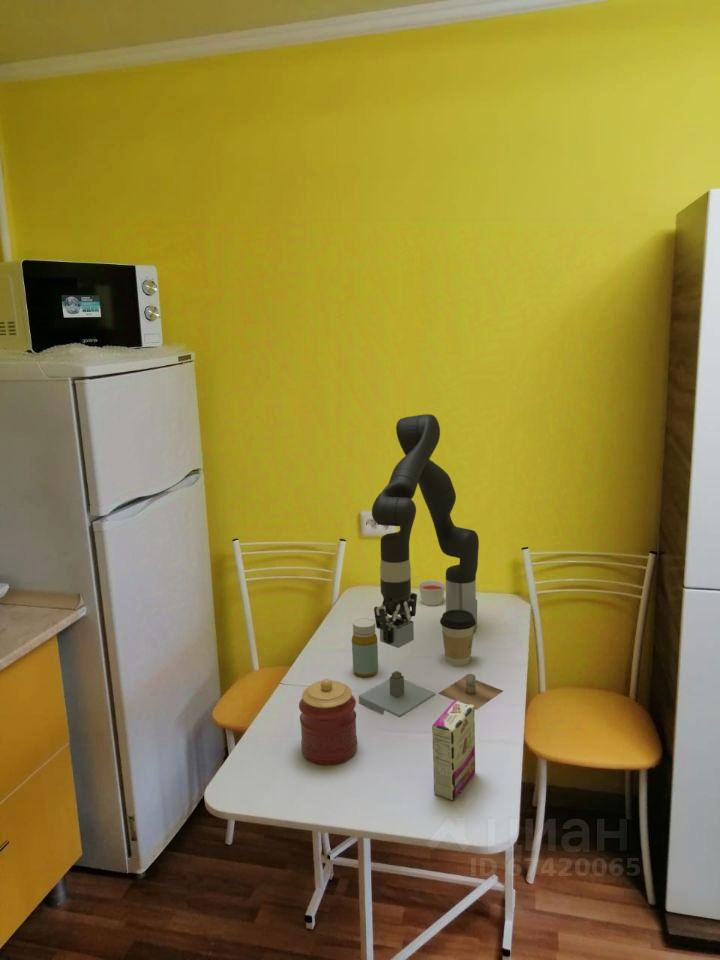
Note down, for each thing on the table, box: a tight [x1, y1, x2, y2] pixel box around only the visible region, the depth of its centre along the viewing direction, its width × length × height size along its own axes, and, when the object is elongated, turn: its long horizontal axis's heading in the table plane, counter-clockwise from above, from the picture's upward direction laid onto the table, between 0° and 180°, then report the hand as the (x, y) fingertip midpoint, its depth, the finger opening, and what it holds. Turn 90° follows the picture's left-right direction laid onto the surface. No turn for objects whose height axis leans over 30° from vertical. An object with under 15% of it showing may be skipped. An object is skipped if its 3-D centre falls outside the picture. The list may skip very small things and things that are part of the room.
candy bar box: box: [431, 700, 476, 801], centre depth 152 cm, size 11×5×16 cm, turn 148°
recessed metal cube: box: [379, 615, 415, 649], centre depth 182 cm, size 6×6×5 cm
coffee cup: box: [439, 610, 476, 667], centre depth 203 cm, size 10×10×15 cm
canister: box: [298, 678, 358, 766], centre depth 165 cm, size 13×13×18 cm
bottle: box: [351, 617, 379, 678], centre depth 201 cm, size 7×7×15 cm
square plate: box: [358, 670, 437, 718], centre depth 186 cm, size 14×14×8 cm
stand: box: [437, 673, 504, 711], centre depth 187 cm, size 12×12×6 cm
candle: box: [418, 579, 446, 607], centre depth 249 cm, size 9×9×6 cm
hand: (396, 638), depth 182 cm, fingers closed on recessed metal cube, 6 cm apart
